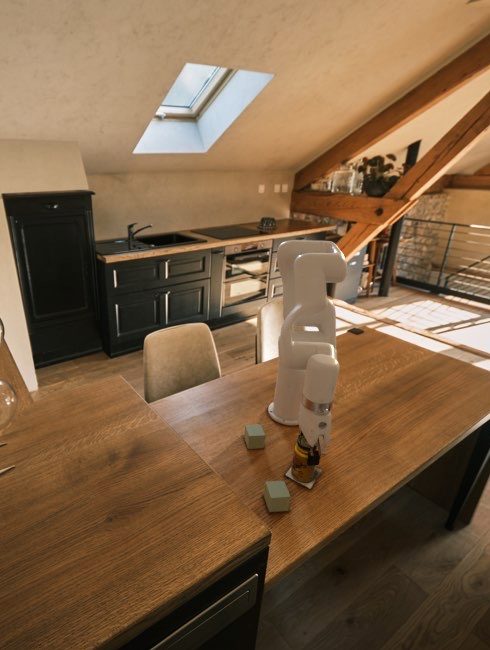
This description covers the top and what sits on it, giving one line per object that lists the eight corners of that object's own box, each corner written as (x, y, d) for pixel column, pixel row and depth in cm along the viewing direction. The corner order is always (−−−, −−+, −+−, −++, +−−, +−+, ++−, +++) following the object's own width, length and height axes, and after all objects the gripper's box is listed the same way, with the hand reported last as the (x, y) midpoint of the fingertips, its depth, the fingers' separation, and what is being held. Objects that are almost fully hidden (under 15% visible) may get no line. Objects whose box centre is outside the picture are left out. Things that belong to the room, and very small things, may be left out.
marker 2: (281, 494, 101) (284, 480, 99) (288, 511, 97) (290, 496, 95) (263, 495, 101) (265, 481, 99) (269, 512, 96) (271, 497, 94)
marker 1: (259, 436, 122) (260, 424, 120) (263, 448, 117) (265, 435, 115) (243, 437, 121) (245, 425, 119) (247, 449, 117) (249, 436, 115)
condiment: (284, 475, 107) (289, 442, 103) (297, 458, 113) (303, 426, 108) (310, 489, 103) (316, 455, 98) (322, 470, 109) (328, 437, 104)
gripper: (347, 422, 90) (335, 479, 97) (317, 381, 106) (308, 433, 113) (316, 423, 90) (306, 481, 97) (291, 382, 106) (283, 434, 112)
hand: (307, 454), depth 105 cm, fingers closed on condiment, 6 cm apart
